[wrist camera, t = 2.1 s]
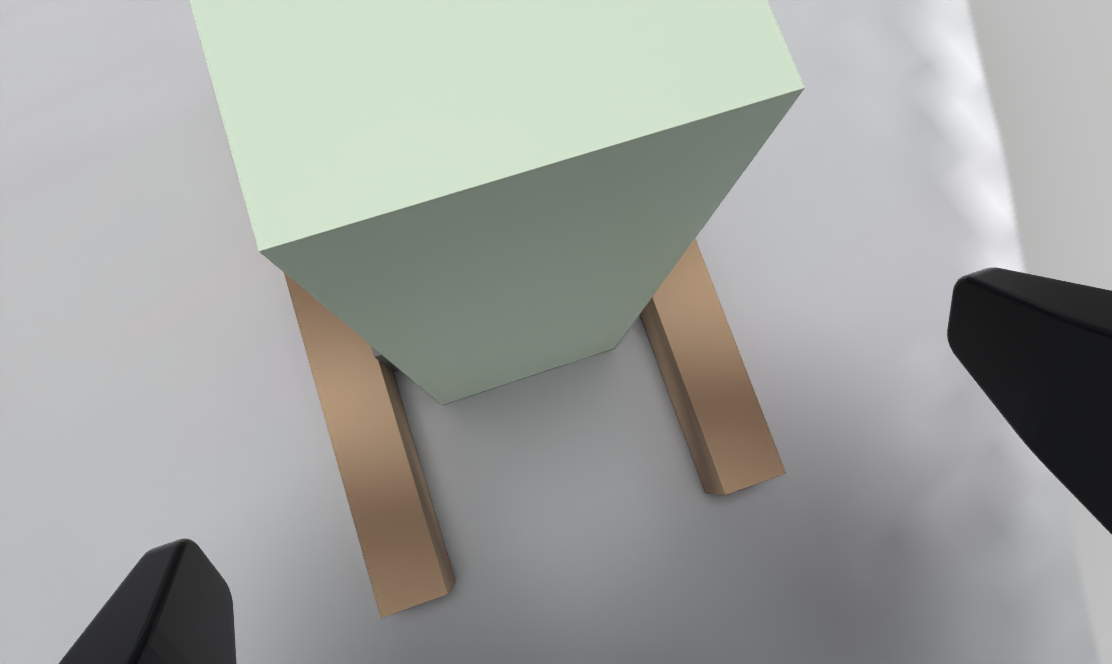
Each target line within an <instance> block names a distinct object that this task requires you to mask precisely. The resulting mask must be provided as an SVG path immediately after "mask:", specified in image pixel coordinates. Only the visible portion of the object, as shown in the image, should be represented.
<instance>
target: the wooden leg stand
mask: <svg viewBox="0 0 1112 664" xmlns="http://www.w3.org/2000/svg"><path fill="white" fill-rule="evenodd" d="M284 274H285V273H284ZM285 278H286V281H287V285H288V289H289V292H290V296H291V299H292V303H293V306H294V310H295V314H296V317H297V321H298V324H299V328H300V331H301V335H302V338H303V342H304V346H305V349H306V353H307V356H308V360H309V363H310V367H311V371H312V374H313V378H314V381H315V385H316V388H317V392H318V395H319V399H320V403H321V406H322V410H323V413H324V417H325V420H326V424H327V428H328V431H329V435H330V438H331V442H332V445H333V449H334V452H335V456H336V460H337V463H338V467H339V470H340V474H341V477H342V481H343V485H344V488H345V492H346V495H347V499H348V502H349V506H350V510H351V513H352V517H353V520H354V524H355V527H356V531H357V534H358V538H359V542H360V545H361V549H362V552H363V556H364V559H365V563H366V567H367V570H368V574H369V577H370V581H371V584H372V588H373V591H374V595H375V599H376V602H377V606H378V609H379V613H380V616H381V618H383V617H386V616H388V615H391V614H394V613H397V612H400V611H402V610H405V609H408V608H411V607H414V606H416V605H419V604H422V603H425V602H428V601H430V600H433V599H436V598H439V597H442V596H444V595H447V594H448V593H449V592H450V590H451V588H452V587H453V585H454V584H455V582H456V581H455V578H454V575H453V571H452V568H451V565H450V561H449V558H448V555H447V551H446V548H445V545H444V541H443V538H442V535H441V531H440V528H439V525H438V521H437V518H436V515H435V511H434V508H433V505H432V502H431V498H430V495H429V492H428V488H427V485H426V482H425V478H424V475H423V472H422V468H421V465H420V462H419V458H418V455H417V452H416V448H415V445H414V442H413V438H412V435H411V432H410V428H409V425H408V422H407V418H406V415H405V412H404V408H403V405H402V402H401V398H400V395H399V392H398V388H397V385H396V382H395V378H394V375H393V372H392V371H395V370H398V368H397V367H396V366H395V365H394V364H392V363H391V362H390V361H389V360H388V359H386V358H385V357H384V356H383V355H382V354H380V353H379V352H378V351H377V350H376V349H375V348H373V347H372V346H371V345H370V344H369V343H367V342H366V341H365V340H364V339H363V338H361V337H360V336H359V335H358V334H357V333H355V332H354V331H353V330H352V329H351V328H350V327H348V326H347V325H346V324H345V323H344V322H342V321H341V320H340V319H339V318H338V317H336V316H335V315H334V314H333V313H332V312H330V311H329V310H328V309H327V308H326V307H325V306H323V305H322V304H321V303H320V302H319V301H317V300H316V299H315V298H314V297H313V296H311V295H310V294H309V293H308V292H307V291H306V290H304V289H303V288H302V287H301V286H300V285H298V284H297V283H296V282H295V281H294V280H292V279H291V278H290V277H289V276H288V275H286V274H285ZM640 315H641V318H642V321H643V324H644V326H645V329H646V332H647V334H648V337H649V340H650V343H651V345H652V348H653V351H654V354H655V356H656V359H657V362H658V365H659V367H660V370H661V373H662V376H663V378H664V381H665V384H666V386H667V389H668V392H669V395H670V397H671V400H672V403H673V406H674V408H675V411H676V414H677V417H678V419H679V422H680V425H681V427H682V430H683V433H684V436H685V438H686V441H687V444H688V447H689V449H690V452H691V455H692V458H693V460H694V463H695V466H696V469H697V471H698V474H699V477H700V479H701V482H702V485H703V488H704V490H705V493H710V494H720V495H727V494H730V493H733V492H736V491H739V490H741V489H744V488H747V487H750V486H753V485H755V484H758V483H761V482H764V481H767V480H769V479H772V478H775V477H778V476H781V475H783V474H786V472H785V470H784V467H783V464H782V462H781V459H780V457H779V454H778V451H777V449H776V446H775V444H774V441H773V439H772V436H771V433H770V431H769V428H768V426H767V423H766V420H765V418H764V415H763V413H762V410H761V407H760V405H759V402H758V400H757V397H756V395H755V392H754V389H753V387H752V384H751V382H750V379H749V376H748V374H747V371H746V369H745V366H744V363H743V361H742V358H741V356H740V353H739V351H738V348H737V345H736V343H735V340H734V338H733V335H732V332H731V330H730V327H729V325H728V322H727V320H726V317H725V314H724V312H723V309H722V307H721V304H720V301H719V299H718V296H717V294H716V291H715V288H714V286H713V283H712V281H711V278H710V276H709V273H708V270H707V268H706V265H705V263H704V260H703V257H702V255H701V252H700V250H699V247H698V244H697V242H696V239H694V240H693V242H692V243H691V244H690V246H689V247H688V249H687V250H686V251H685V253H684V254H683V255H682V257H681V258H680V260H679V261H678V262H677V264H676V265H675V266H674V268H673V269H672V270H671V272H670V273H669V275H668V276H667V277H666V279H665V280H664V281H663V283H662V284H661V286H660V287H659V288H658V290H657V291H656V292H655V294H654V295H653V297H652V298H651V299H650V301H649V302H648V303H647V305H646V306H645V307H644V309H643V310H642V312H641V313H640Z"/></svg>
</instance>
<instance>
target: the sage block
mask: <svg viewBox="0 0 1112 664" xmlns="http://www.w3.org/2000/svg"><path fill="white" fill-rule="evenodd" d="M189 1H190V4H191V8H192V11H193V15H194V19H195V22H196V26H197V29H198V33H199V37H200V40H201V44H202V48H203V51H204V55H205V58H206V62H207V66H208V69H209V73H210V76H211V80H212V84H213V87H214V91H215V95H216V98H217V102H218V105H219V109H220V113H221V116H222V120H223V124H224V127H225V131H226V134H227V138H228V142H229V145H230V149H231V152H232V156H233V160H234V163H235V167H236V171H237V174H238V178H239V181H240V185H241V189H242V192H243V196H244V199H245V203H246V207H247V210H248V214H249V218H250V221H251V225H252V228H253V232H254V236H255V239H256V243H257V247H258V250H259V252H260V253H261V254H263V255H264V256H265V257H266V258H267V259H269V260H270V261H271V262H272V263H273V264H275V265H276V266H277V267H278V268H279V269H281V270H282V271H283V272H284V273H285V274H286V275H288V276H289V277H290V278H291V279H292V280H294V281H295V282H296V283H297V284H298V285H300V286H301V287H302V288H303V289H304V290H306V291H307V292H308V293H309V294H310V295H311V296H313V297H314V298H315V299H316V300H317V301H319V302H320V303H321V304H322V305H323V306H325V307H326V308H327V309H328V310H329V311H330V312H332V313H333V314H334V315H335V316H336V317H338V318H339V319H340V320H341V321H342V322H344V323H345V324H346V325H347V326H348V327H350V328H351V329H352V330H353V331H354V332H355V333H357V334H358V335H359V336H360V337H361V338H363V339H364V340H365V341H366V342H367V343H369V344H370V345H371V346H372V347H373V348H375V349H376V350H377V351H378V352H379V353H380V354H382V355H383V356H384V357H385V358H386V359H388V360H389V361H390V362H391V363H392V364H394V365H395V366H396V367H397V368H398V369H400V370H401V371H402V372H403V373H404V374H405V375H407V376H408V377H409V378H410V379H411V380H413V381H414V382H415V383H416V384H417V385H419V386H420V387H421V388H422V389H423V390H425V391H426V392H427V393H428V394H429V395H430V396H432V397H433V398H434V399H435V400H436V401H438V402H439V403H440V404H441V405H444V404H447V403H450V402H453V401H456V400H459V399H462V398H465V397H468V396H471V395H474V394H477V393H480V392H483V391H486V390H490V389H493V388H496V387H499V386H502V385H505V384H508V383H511V382H514V381H517V380H520V379H523V378H526V377H529V376H532V375H535V374H538V373H541V372H544V371H547V370H550V369H553V368H556V367H559V366H562V365H565V364H568V363H571V362H574V361H577V360H581V359H584V358H587V357H590V356H593V355H596V354H599V353H602V352H605V351H608V350H611V349H614V348H615V347H616V346H617V344H618V343H619V342H620V340H621V339H622V338H623V336H624V335H625V334H626V332H627V331H628V329H629V328H630V327H631V325H632V324H633V323H634V321H635V320H636V318H637V317H638V316H639V314H640V313H641V312H642V310H643V309H644V307H645V306H646V305H647V303H648V302H649V301H650V299H651V298H652V297H653V295H654V294H655V292H656V291H657V290H658V288H659V287H660V286H661V284H662V283H663V281H664V280H665V279H666V277H667V276H668V275H669V273H670V272H671V270H672V269H673V268H674V266H675V265H676V264H677V262H678V261H679V260H680V258H681V257H682V255H683V254H684V253H685V251H686V250H687V249H688V247H689V246H690V244H691V243H692V242H693V240H694V239H695V238H696V236H697V235H698V234H699V232H700V231H701V229H702V228H703V227H704V225H705V224H706V223H707V221H708V220H709V218H710V217H711V216H712V214H713V213H714V212H715V210H716V209H717V207H718V206H719V205H720V203H721V202H722V201H723V199H724V198H725V197H726V195H727V194H728V192H729V191H730V190H731V188H732V187H733V186H734V184H735V183H736V181H737V180H738V179H739V177H740V176H741V175H742V173H743V172H744V170H745V169H746V168H747V166H748V165H749V164H750V162H751V161H752V160H753V158H754V157H755V155H756V154H757V153H758V151H759V150H760V149H761V147H762V146H763V144H764V143H765V142H766V140H767V139H768V138H769V136H770V135H771V134H772V132H773V131H774V129H775V128H776V127H777V125H778V124H779V123H780V121H781V120H782V118H783V117H784V116H785V114H786V113H787V112H788V110H789V109H790V107H791V106H792V105H793V103H794V102H795V101H796V99H797V98H798V97H799V95H800V94H801V92H802V91H803V90H804V88H805V87H804V85H803V82H802V80H801V78H800V75H799V73H798V71H797V68H796V66H795V64H794V61H793V59H792V57H791V54H790V52H789V50H788V47H787V45H786V43H785V40H784V38H783V36H782V33H781V31H780V29H779V26H778V24H777V22H776V19H775V17H774V15H773V12H772V10H771V8H770V6H769V3H768V1H767V0H189Z"/></svg>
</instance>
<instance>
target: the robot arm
mask: <svg viewBox="0 0 1112 664" xmlns="http://www.w3.org/2000/svg"><path fill="white" fill-rule="evenodd" d="M947 337H948V342H949V345H950V347H951V349H952V351H953V353H954V354H955V356H956V357H957V358H958V360H959V361H960V362H961V363H962V365H963V366H964V367H965V368H966V370H967V371H968V372H969V373H970V375H971V376H972V377H973V379H974V380H975V381H976V382H977V384H978V385H979V386H980V387H981V389H982V390H983V391H984V392H985V394H986V395H987V396H988V398H989V399H990V400H991V401H992V403H993V404H994V405H995V406H996V408H997V409H998V410H999V411H1000V413H1001V414H1002V415H1003V417H1004V418H1005V419H1006V420H1007V422H1008V423H1009V424H1010V425H1011V427H1012V428H1013V429H1014V430H1015V432H1016V433H1017V434H1018V435H1019V437H1020V438H1021V439H1022V440H1023V441H1024V443H1025V444H1026V445H1027V446H1028V447H1029V449H1030V450H1031V451H1032V452H1033V453H1034V454H1035V455H1036V456H1037V457H1038V459H1039V460H1040V461H1041V462H1042V463H1043V464H1044V465H1045V466H1046V467H1047V468H1048V469H1049V470H1050V471H1051V472H1052V473H1053V474H1054V475H1055V477H1056V478H1057V479H1058V480H1059V481H1060V482H1061V483H1062V484H1063V485H1064V486H1065V487H1066V488H1067V489H1068V490H1069V491H1070V492H1071V493H1072V494H1073V495H1074V496H1075V497H1076V498H1077V499H1078V500H1079V501H1080V502H1081V503H1082V504H1083V505H1084V506H1085V507H1086V508H1087V510H1088V511H1089V512H1090V513H1091V514H1092V515H1093V516H1094V517H1095V518H1096V519H1097V520H1098V521H1099V522H1100V523H1101V524H1102V525H1103V526H1104V527H1105V528H1106V529H1107V530H1108V531H1109V532H1110V533H1111V534H1112V291H1110V290H1105V289H1100V288H1095V287H1091V286H1086V285H1081V284H1076V283H1071V282H1066V281H1061V280H1056V279H1051V278H1045V277H1041V276H1036V275H1031V274H1026V273H1021V272H1016V271H1011V270H1006V269H1001V268H986V269H983V270H980V271H977V272H974V273H971V274H968V275H965V276H963V277H961V278H960V279H958V281H957V282H956V284H955V285H954V289H953V294H952V301H951V308H950V315H949V322H948V329H947ZM59 664H236V648H235V631H234V614H233V601H232V596H231V593H230V590H229V587H228V585H227V583H226V582H225V580H224V579H223V577H222V576H221V575H220V573H219V572H218V571H217V570H216V568H215V567H214V566H213V564H212V563H211V562H210V560H209V559H208V558H207V556H206V555H205V554H204V553H203V551H202V550H201V549H200V547H199V546H198V545H197V544H196V543H195V542H194V541H192V540H190V539H180V540H177V541H174V542H171V543H168V544H165V545H162V546H159V547H156V548H153V549H151V550H149V551H148V552H147V553H145V555H144V556H143V557H142V558H141V559H140V560H139V562H138V563H137V564H136V565H135V567H134V568H133V569H132V571H131V572H130V573H129V574H128V576H127V577H126V578H125V579H124V581H123V582H122V583H121V585H120V586H119V587H118V588H117V590H116V591H115V592H114V594H113V595H112V596H111V597H110V599H109V600H108V601H107V602H106V604H105V605H104V606H103V608H102V609H101V610H100V611H99V613H98V614H97V615H96V617H95V618H94V619H93V620H92V622H91V623H90V624H89V625H88V627H87V628H86V629H85V631H84V632H83V633H82V634H81V636H80V637H79V638H78V640H77V641H76V642H75V643H74V645H73V646H72V647H71V648H70V650H69V651H68V652H67V654H66V655H65V656H64V657H63V659H62V660H61V661H60V663H59Z"/></svg>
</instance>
